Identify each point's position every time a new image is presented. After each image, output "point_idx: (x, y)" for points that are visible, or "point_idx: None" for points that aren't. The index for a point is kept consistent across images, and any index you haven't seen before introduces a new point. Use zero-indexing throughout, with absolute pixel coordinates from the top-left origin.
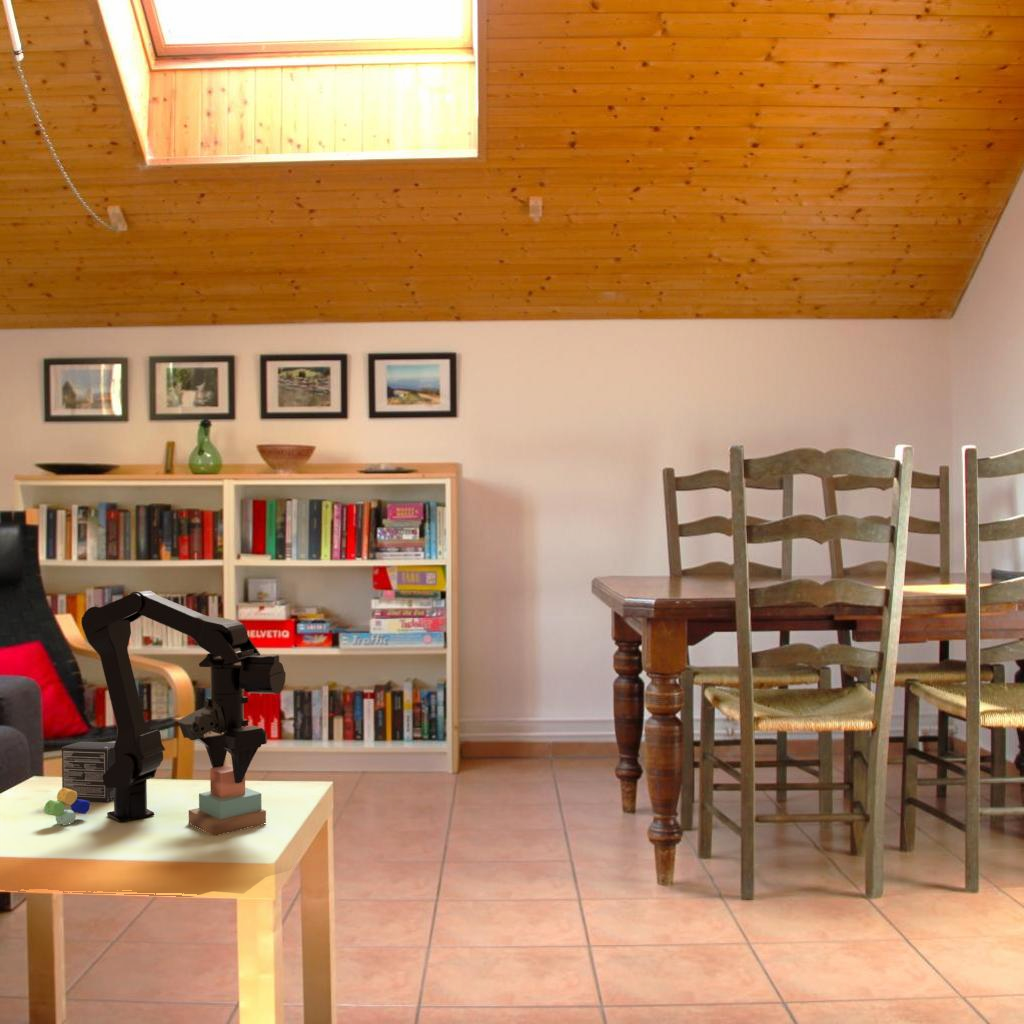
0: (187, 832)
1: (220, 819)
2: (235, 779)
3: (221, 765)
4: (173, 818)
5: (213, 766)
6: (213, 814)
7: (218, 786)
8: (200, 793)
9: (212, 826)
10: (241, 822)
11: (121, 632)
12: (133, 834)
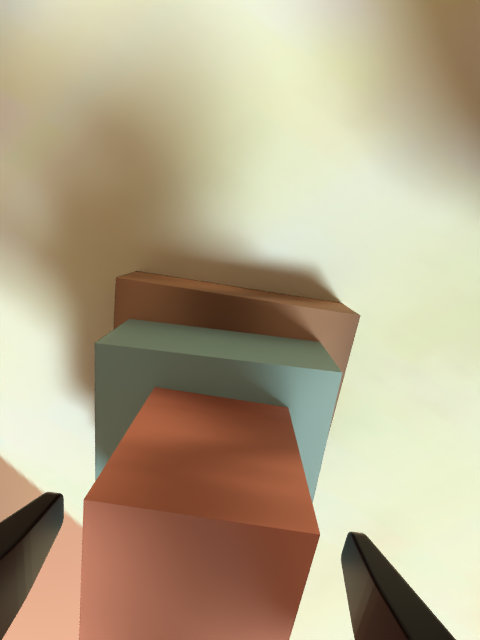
0: (250, 235)
1: (129, 318)
2: (27, 509)
3: (359, 635)
4: (445, 305)
5: (384, 590)
6: (189, 328)
7: (179, 426)
8: (336, 378)
9: (133, 276)
10: None
11: None
12: (414, 69)
